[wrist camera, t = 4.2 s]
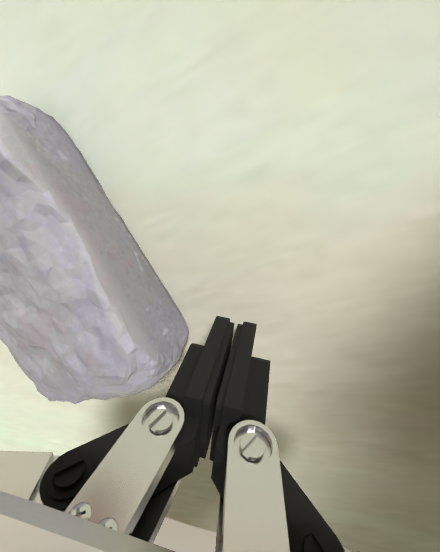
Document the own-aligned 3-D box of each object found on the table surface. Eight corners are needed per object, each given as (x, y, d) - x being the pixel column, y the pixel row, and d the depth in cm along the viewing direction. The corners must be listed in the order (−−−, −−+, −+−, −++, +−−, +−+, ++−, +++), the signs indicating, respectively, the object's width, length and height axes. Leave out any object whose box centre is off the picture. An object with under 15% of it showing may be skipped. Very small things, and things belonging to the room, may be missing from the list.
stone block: (101, 352, 19) (213, 335, 13) (36, 412, 15) (154, 423, 9) (-17, 193, 16) (66, 81, 10) (-137, 218, 12) (-114, 60, 6)
